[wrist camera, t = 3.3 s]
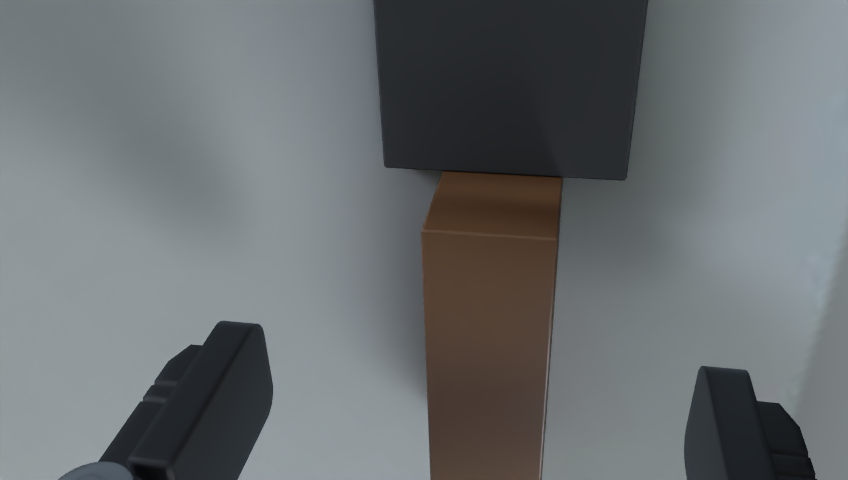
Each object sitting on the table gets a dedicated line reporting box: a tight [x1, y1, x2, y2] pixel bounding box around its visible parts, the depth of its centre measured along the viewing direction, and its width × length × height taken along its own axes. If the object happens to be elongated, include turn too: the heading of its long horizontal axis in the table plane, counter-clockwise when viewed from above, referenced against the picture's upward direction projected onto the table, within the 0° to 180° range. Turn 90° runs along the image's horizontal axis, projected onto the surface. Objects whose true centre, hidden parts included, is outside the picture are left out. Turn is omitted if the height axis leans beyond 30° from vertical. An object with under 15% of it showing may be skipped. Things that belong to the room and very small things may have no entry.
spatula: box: [373, 0, 648, 480], centre depth 14 cm, size 12×4×3 cm, turn 2°
